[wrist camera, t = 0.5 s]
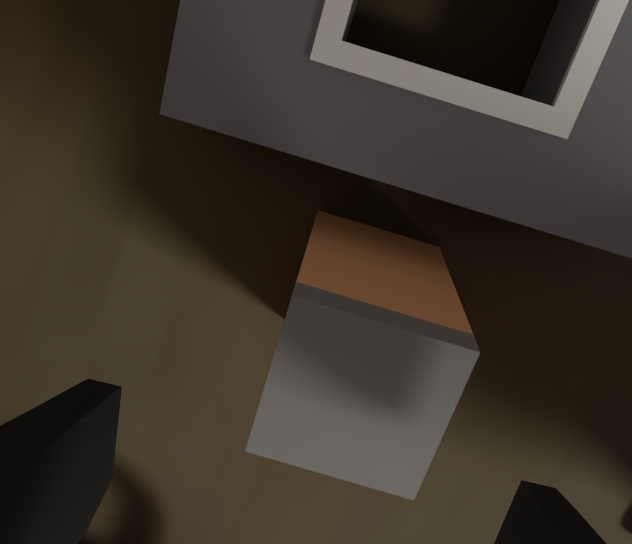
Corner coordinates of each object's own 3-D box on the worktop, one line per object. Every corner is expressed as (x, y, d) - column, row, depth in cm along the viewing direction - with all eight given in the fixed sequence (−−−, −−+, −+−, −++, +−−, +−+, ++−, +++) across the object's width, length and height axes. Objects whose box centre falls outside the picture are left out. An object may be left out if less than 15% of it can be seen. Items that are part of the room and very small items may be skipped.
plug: (438, 246, 18) (480, 352, 12) (397, 353, 20) (413, 500, 13) (318, 210, 18) (291, 296, 12) (285, 319, 20) (245, 451, 13)
